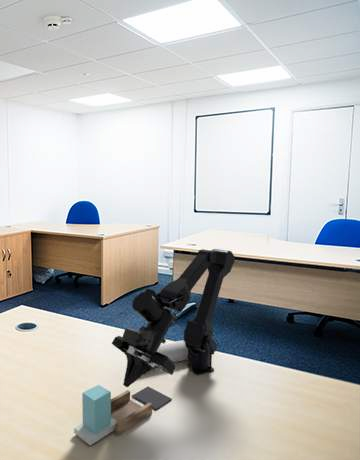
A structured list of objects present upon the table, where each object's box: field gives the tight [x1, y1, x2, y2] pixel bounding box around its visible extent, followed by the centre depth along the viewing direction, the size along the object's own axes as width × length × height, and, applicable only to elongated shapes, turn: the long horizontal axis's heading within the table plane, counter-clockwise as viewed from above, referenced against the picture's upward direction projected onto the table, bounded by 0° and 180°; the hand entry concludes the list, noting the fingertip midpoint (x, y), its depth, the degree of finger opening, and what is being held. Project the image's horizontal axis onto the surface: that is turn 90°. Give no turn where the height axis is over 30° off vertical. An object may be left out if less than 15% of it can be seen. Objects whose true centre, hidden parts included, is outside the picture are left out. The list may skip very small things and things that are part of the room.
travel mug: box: [153, 339, 190, 368], centre depth 114 cm, size 6×7×20 cm
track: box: [111, 389, 153, 437], centre depth 86 cm, size 11×9×2 cm
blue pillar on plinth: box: [73, 384, 118, 446], centre depth 80 cm, size 8×6×9 cm
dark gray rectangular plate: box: [131, 386, 172, 411], centre depth 94 cm, size 6×9×1 cm, turn 50°
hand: (125, 386), depth 86 cm, fingers closed
